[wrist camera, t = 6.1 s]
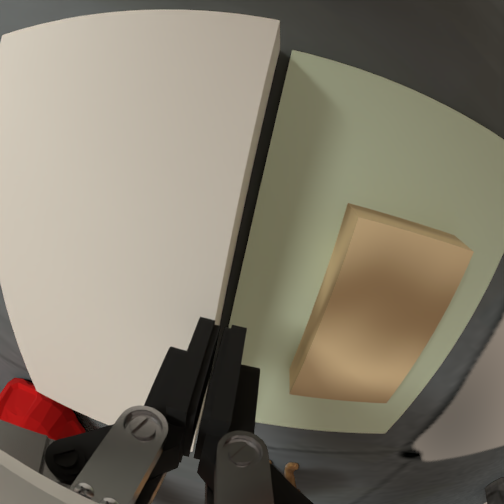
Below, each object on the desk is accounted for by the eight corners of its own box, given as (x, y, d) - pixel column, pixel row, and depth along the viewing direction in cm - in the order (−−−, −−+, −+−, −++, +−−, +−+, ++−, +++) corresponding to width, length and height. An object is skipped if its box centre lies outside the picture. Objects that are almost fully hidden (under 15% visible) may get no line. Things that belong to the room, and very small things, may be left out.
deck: (53, 42, 10) (2, 35, 7) (280, 49, 11) (279, 20, 7) (61, 357, 20) (36, 391, 16) (203, 406, 20) (192, 451, 16)
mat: (291, 51, 11) (292, 49, 10) (529, 159, 11) (533, 161, 10) (210, 408, 20) (209, 412, 19) (384, 429, 20) (385, 433, 20)
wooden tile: (473, 251, 11) (454, 235, 13) (358, 217, 11) (347, 202, 13) (386, 403, 15) (379, 379, 17) (289, 394, 15) (289, 368, 17)
